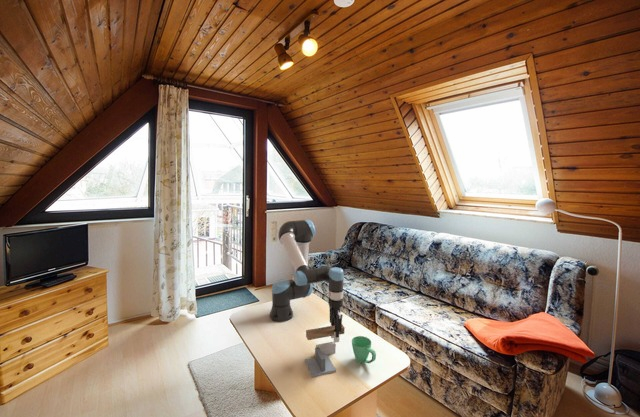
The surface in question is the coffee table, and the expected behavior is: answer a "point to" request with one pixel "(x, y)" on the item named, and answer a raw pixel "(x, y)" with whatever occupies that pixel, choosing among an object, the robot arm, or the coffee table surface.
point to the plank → (322, 332)
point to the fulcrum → (319, 364)
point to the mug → (362, 349)
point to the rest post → (327, 348)
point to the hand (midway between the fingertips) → (335, 339)
